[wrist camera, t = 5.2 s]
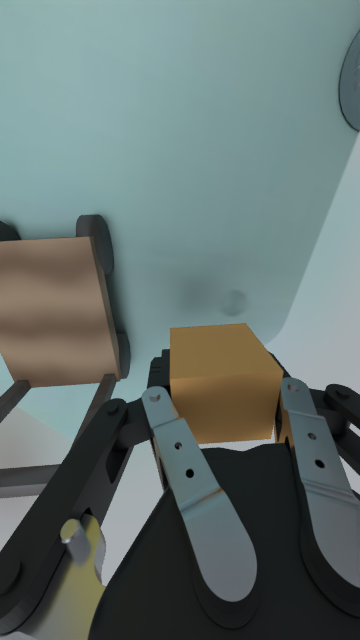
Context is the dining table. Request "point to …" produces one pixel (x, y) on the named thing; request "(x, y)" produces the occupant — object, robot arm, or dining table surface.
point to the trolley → (57, 326)
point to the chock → (223, 383)
